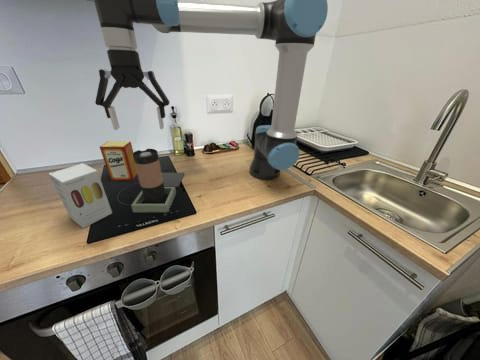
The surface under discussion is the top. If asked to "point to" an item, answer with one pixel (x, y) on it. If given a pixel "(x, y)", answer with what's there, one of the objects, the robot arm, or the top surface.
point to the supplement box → (81, 194)
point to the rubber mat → (172, 179)
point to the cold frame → (140, 207)
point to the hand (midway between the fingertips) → (139, 128)
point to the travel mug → (150, 176)
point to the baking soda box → (119, 160)
